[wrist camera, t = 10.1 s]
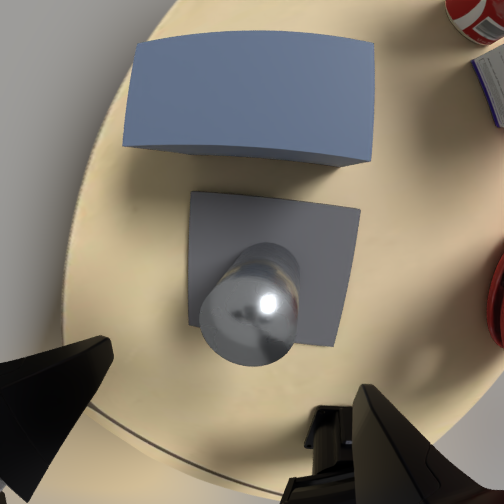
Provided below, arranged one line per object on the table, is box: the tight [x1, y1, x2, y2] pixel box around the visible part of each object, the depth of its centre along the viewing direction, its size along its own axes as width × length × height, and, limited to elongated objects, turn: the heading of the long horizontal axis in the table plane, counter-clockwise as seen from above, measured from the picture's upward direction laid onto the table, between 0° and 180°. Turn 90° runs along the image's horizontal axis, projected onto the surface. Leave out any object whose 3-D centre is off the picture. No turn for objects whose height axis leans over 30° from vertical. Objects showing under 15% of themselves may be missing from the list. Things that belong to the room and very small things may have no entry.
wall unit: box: [122, 31, 375, 167], centre depth 13 cm, size 5×10×8 cm, turn 85°
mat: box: [188, 191, 361, 347], centre depth 19 cm, size 10×11×1 cm
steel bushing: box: [199, 242, 300, 366], centre depth 16 cm, size 4×4×7 cm
